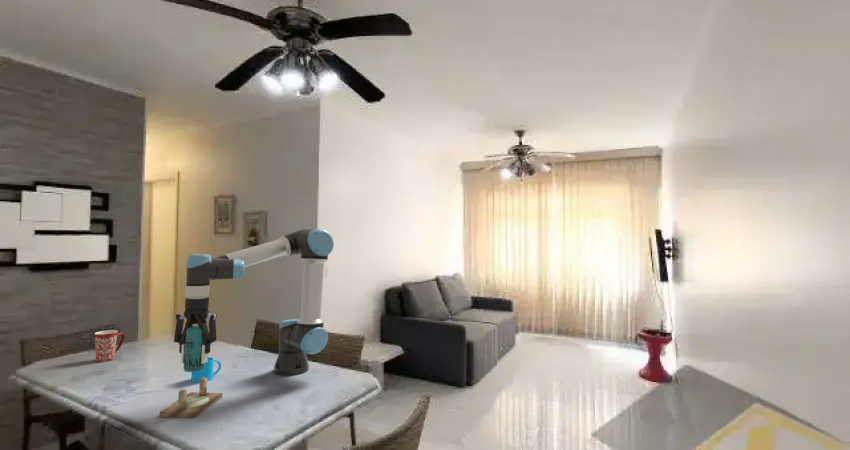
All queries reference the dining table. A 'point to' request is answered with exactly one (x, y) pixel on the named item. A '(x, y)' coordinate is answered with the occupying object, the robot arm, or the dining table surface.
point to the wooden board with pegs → (191, 402)
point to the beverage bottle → (193, 348)
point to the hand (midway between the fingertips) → (194, 362)
